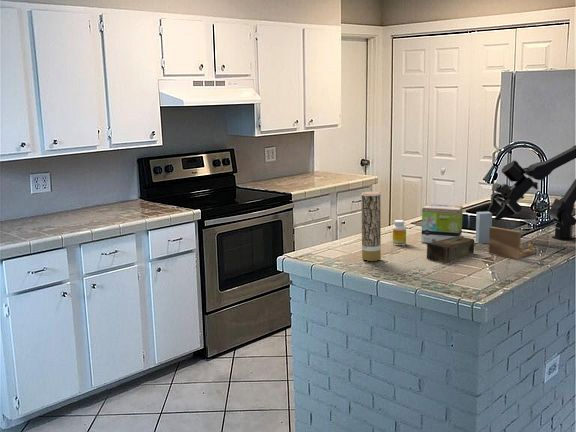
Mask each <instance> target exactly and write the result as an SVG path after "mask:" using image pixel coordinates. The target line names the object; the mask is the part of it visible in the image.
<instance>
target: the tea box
mask: <svg viewBox="0 0 576 432" xmlns="http://www.w3.org/2000/svg"><path fill="white" fill-rule="evenodd" d="M463 209H464V208H463V205H456V204H438V203H437V204H436V203H435V204H434V203H426V204H425V205H424V206H423V207H422V210H421V243H430V242H435V241H439V240H443V239H448V238H452V237H457V236H463V235H462V233H463Z"/></svg>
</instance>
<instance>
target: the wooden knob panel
mask: <svg viewBox="0 0 576 432" xmlns="http://www.w3.org/2000/svg"><path fill="white" fill-rule="evenodd" d="M521 240H522V232H521V231H520V230H515V229H508V228H501V227H496V226H492V227H490V231H489V243H488V254H491V255H493V256H494V255H495V256H499V257H505V258H508V259H513V260H520V259H521V258H524V257H527V256H530V255H532V254H536V253H537V249H536V248H533V244H532V243H528V248H527V249H526V248H525V249H524V246H522V245H521V243H522V241H521ZM526 255H527V256H526ZM523 256H524V257H523ZM520 257H521V258H520Z"/></svg>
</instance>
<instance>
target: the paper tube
mask: <svg viewBox="0 0 576 432" xmlns="http://www.w3.org/2000/svg"><path fill="white" fill-rule="evenodd" d="M381 215H382V213H381V192H380V191H364V192H361V258H362V261H364V260H367V261H366V262H368V261H375V262H378V261H377V260H379V261H380V260H381V256H382V255H381V254H382V253H381V251H382V250H381V247H382V246H381V245H382V244H381V241H382V240H381V239H382V238H381V232H382V231H381V230H382V229H381V219H382V217H381Z"/></svg>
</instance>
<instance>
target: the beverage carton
mask: <svg viewBox="0 0 576 432" xmlns="http://www.w3.org/2000/svg"><path fill="white" fill-rule="evenodd" d="M426 243H427V242H426ZM426 245H427V246H426V259H427V260H430V261H434V262H439V263H441V264H443V263H446V262H450V261H453V260H456V259H460V258H464V257H467V256H470V255H473V254H474V252H475V239H473V238H471V237H466V236H464V235H462V236H457V237H452V238H448V239H443V240H439V241H435V242H430V243H427V244H426Z"/></svg>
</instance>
